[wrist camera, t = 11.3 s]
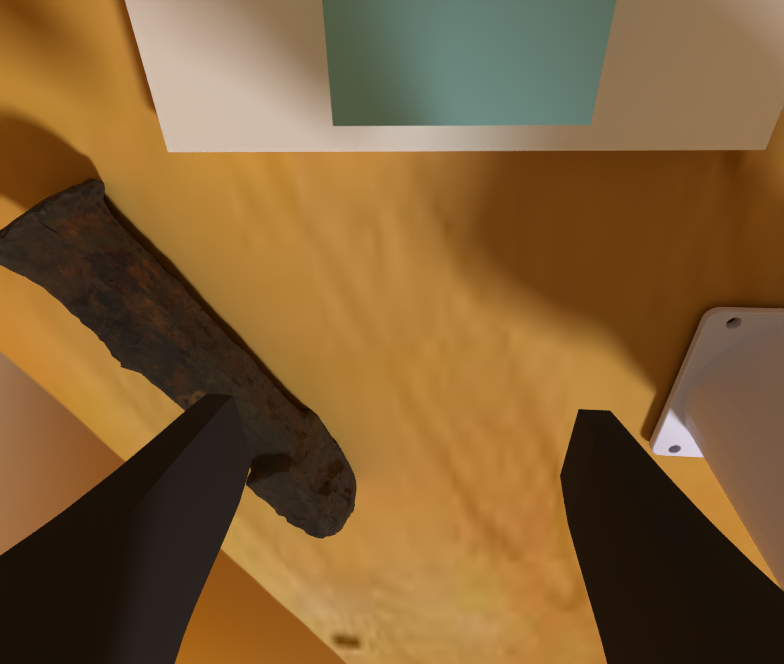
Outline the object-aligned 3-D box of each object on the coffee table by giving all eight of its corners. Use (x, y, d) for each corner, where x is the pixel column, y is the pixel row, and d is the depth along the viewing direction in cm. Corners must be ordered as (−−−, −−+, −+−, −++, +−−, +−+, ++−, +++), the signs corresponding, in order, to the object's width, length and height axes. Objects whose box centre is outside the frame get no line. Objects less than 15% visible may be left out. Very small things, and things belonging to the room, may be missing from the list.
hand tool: (41, 213, 18) (-62, 265, 15) (105, 162, 17) (10, 206, 13) (317, 488, 27) (297, 566, 23) (375, 469, 26) (364, 549, 22)
